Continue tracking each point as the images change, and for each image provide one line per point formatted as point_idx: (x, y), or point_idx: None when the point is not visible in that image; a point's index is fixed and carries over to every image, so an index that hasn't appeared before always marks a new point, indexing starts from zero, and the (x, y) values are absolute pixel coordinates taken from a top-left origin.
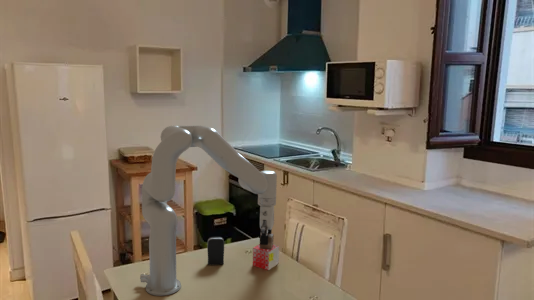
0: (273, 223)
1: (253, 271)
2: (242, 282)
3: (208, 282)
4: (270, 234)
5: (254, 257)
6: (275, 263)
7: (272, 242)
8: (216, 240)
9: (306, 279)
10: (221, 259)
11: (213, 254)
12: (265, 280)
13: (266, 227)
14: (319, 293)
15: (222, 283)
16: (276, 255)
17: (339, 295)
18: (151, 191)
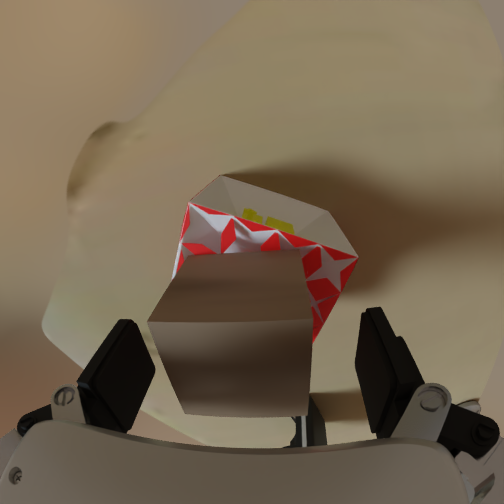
0: (115, 470)
1: (358, 280)
2: (454, 290)
3: (441, 376)
4: (182, 350)
5: None
6: (239, 189)
7: (236, 275)
8: None
9: (374, 4)
10: (314, 413)
11: (323, 444)
12: (439, 203)
13: (114, 421)
14: None
15: (453, 344)
16: (217, 198)
17: None
18: None
